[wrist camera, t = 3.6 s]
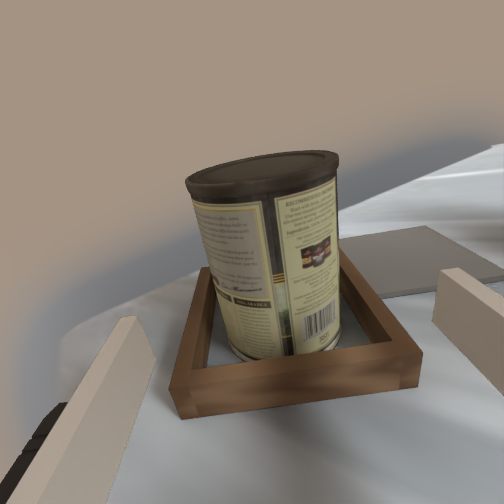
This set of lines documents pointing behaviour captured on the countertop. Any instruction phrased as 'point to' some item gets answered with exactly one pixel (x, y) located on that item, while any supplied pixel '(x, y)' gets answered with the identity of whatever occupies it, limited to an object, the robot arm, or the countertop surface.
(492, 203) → the countertop surface
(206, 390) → the brown wooden square frame
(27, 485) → the robot arm
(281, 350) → the coffee can
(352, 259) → the mat
